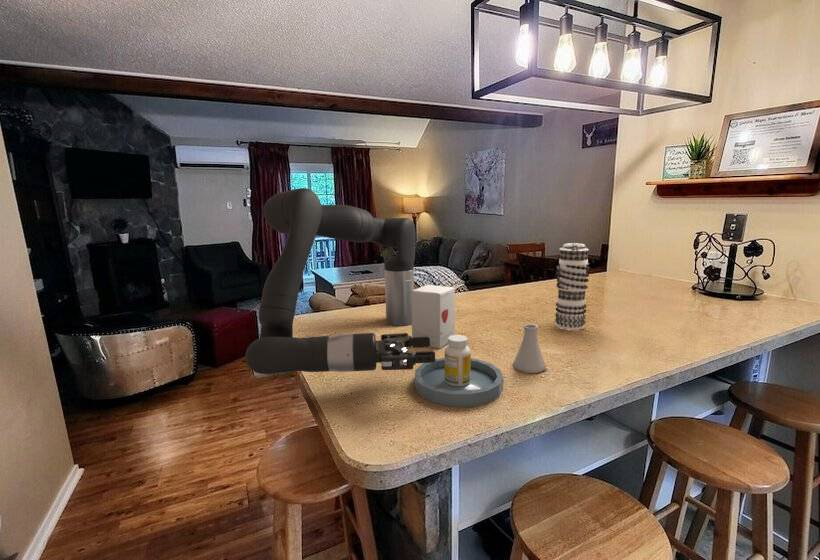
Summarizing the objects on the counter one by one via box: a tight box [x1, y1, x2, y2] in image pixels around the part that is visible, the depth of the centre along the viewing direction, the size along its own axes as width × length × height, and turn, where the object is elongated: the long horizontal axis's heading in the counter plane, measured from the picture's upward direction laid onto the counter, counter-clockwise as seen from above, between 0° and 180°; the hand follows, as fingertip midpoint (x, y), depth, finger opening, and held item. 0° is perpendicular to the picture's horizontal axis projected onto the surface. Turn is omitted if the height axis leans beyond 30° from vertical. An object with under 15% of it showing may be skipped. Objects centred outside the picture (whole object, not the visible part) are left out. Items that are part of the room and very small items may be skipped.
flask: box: [512, 323, 547, 374], centre depth 91 cm, size 7×7×10 cm
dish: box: [414, 357, 504, 408], centre depth 83 cm, size 18×18×3 cm
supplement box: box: [411, 284, 456, 350], centre depth 109 cm, size 9×9×15 cm
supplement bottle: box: [444, 334, 472, 387], centre depth 82 cm, size 5×5×10 cm
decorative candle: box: [554, 242, 591, 331], centre depth 118 cm, size 9×9×25 cm
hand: (432, 348), depth 81 cm, fingers open, 8 cm apart
